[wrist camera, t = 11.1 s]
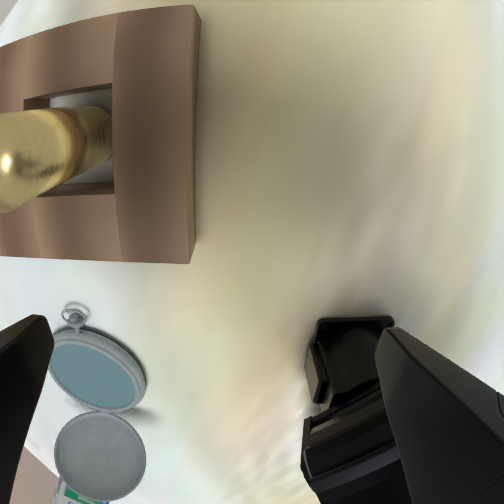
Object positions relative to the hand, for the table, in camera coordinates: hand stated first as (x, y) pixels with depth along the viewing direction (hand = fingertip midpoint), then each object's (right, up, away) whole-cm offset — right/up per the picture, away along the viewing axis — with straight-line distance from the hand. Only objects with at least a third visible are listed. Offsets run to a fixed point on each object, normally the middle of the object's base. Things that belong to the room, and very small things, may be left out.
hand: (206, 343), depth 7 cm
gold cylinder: (-9, +9, +10) cm, 16 cm away
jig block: (-9, +9, +10) cm, 16 cm away
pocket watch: (-13, -8, +18) cm, 24 cm away
